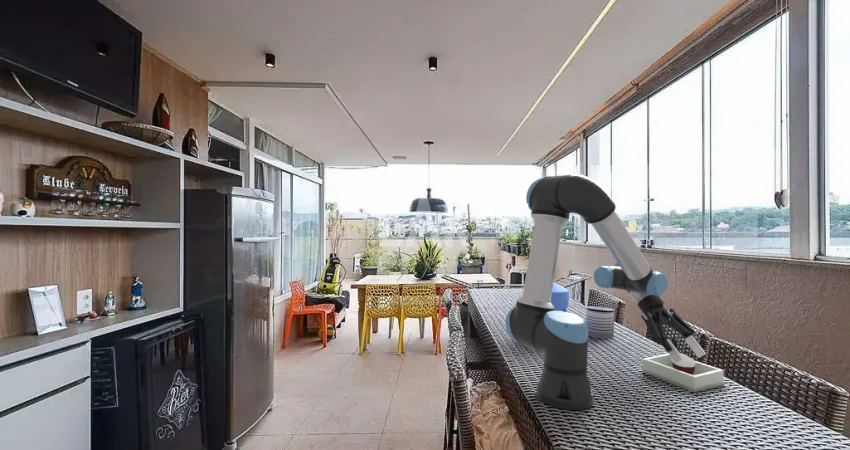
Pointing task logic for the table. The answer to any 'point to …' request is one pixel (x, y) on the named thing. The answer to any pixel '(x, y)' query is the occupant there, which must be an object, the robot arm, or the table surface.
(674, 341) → the cocoa
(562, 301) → the water jug
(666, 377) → the bin
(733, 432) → the table surface
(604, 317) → the can
